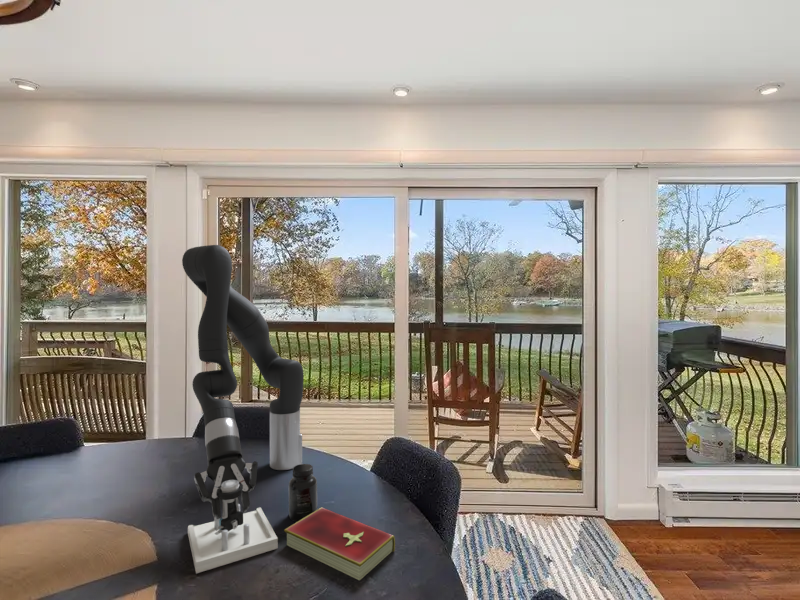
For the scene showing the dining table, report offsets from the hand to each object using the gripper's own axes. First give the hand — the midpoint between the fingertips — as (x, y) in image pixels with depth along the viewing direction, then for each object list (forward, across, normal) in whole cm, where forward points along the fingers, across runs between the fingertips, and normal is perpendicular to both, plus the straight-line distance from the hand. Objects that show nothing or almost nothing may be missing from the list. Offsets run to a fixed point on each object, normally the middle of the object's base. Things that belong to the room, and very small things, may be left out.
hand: (232, 513), depth 94 cm
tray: (+4, 0, +6) cm, 7 cm away
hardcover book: (+14, +20, -4) cm, 25 cm away
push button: (+2, 0, +4) cm, 5 cm away
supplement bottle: (+2, +17, +8) cm, 19 cm away
